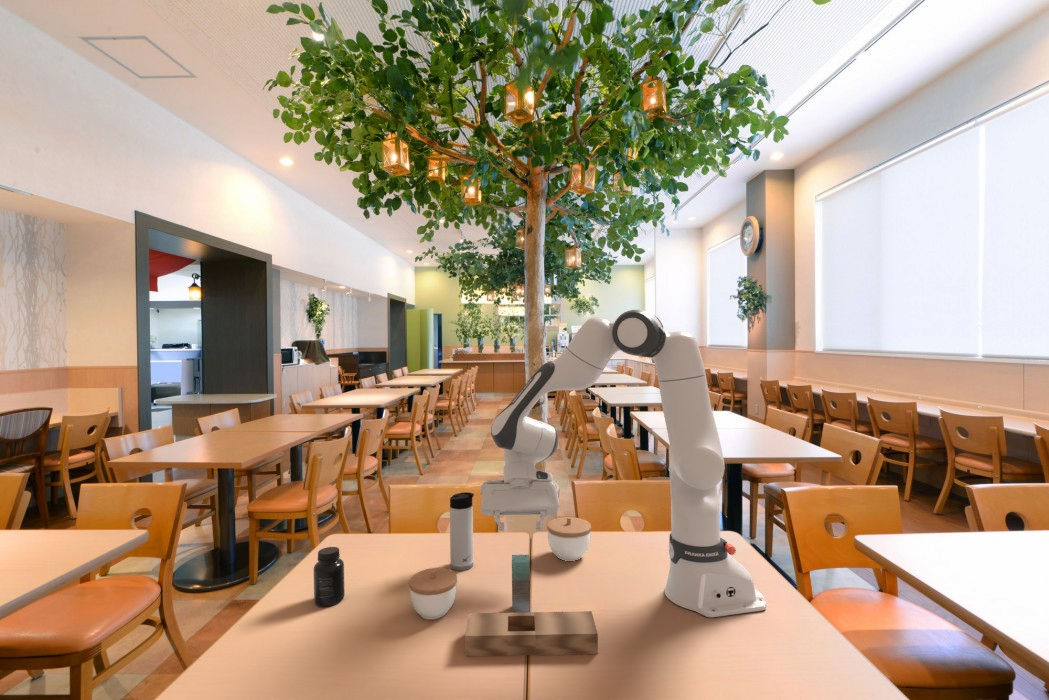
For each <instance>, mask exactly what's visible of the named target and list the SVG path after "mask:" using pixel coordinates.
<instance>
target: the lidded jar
mask: <svg viewBox="0 0 1049 700" xmlns="http://www.w3.org/2000/svg"><path fill="white" fill-rule="evenodd" d="M408 582H409V583H408V584H409V585H408V587H409V596H410V602H411V605H412V607H413V609H414V610H415V611H416V613H417V614H419V615H420V617H421V618H422V619H424V620H430V621H432V620H438V619H441V618H443V617H444V616H445V615H447V613H448V611H449V610H450V609H451V608H452V606H453V604H454V602H455V600H456V596H457V586H458V585H457V583H458V577H457V574H456V572H455V571H453V570H451V569H449V568H443V567H434V568H433V567H431V568H427V569H422V570H420V571H417V572H416V573H415V574H413V575H412V576H411V577H410V578H409V581H408Z"/></svg>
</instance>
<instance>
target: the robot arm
mask: <svg viewBox="0 0 1049 700" xmlns="http://www.w3.org/2000/svg"><path fill="white" fill-rule="evenodd" d="M574 334H575V335H573V337H572V338H571V340H570V342H569V343H568V345H567V346H566V348H565V350H564V351H563V352H562V353H561V354H560V355H559V356H557V358H555V359H554V360H552V361H551V362H545V363H543V364H542V365H541V366H540V367H539V368H538V369H537V370H536V371H535V372H534V373H533V375H532V376H531V377H530V378H529V380H527V382H526V383H525V384H524V386H523V387H522V388H521V389H520V391H519V392H518V393H517V394H516V395H515V397H514V398H513V399H512V400H511V401H510V403H508V405H507V406H506V407H505V408H504V409H503V410H501V412H499V414H497V415H496V417H495V419H494V421H492V424H491V428H490V434H491V437H492V440H493V442H494V444H495V445H496V447H497V448H500V449H503V459H504V462H505V463H504V467H503V479H496V480H492V479H489V480H486V481H485V482H483V483H482V484H481V485H480V495H481V499H480V500H481V501H480V512H481V514H482V515H483V516H493V517H494V521H495V522H496V524H497V525H498V527H497V528H498V532H505V521H501V516H539V517H540V519H539V521H536V522H535V531H536V532H542V531H543V524H544V522H545V520H546V516H547V515H548V516H550V515H551V516H552V515H553V516H554V515H555V516H556V515H557V514H558V513H559V511H560V499H559V495H558V494H559V493H558V489H557V486H556V485H555V483H554V481H553V479H554V477H553V474H552V473H550V472H548V471H543V470H541V469H537V468H536V464H537V463H541V462H544V461H545V460H547V459H549V458H550V457H552V456H553V455H555V453H556V452H557V449H558V443H559V438H558V433H557V430H556V428H555V426H552V425H550V424H549V423H546V422H544V421H540V420H539V419H538V420H537V419H534V418H532V417H530V416H527V415H528V413H529V412H530V411H531V410H532V408H534V406H535V405H536V404H537V402H538V401H539V400H540V399H541V398H542V397H543V396H544V395H546V394H548V393H550V392H557V391H581V390H585V389H588V388H590V387H592V386H593V385H594V384H595V383H596V382H597V380H598V379H599V378H600V376H601V375H602V373H603V371H605V370H604V369H605V368H606V366H607V365H608V363H609V362H610V361H611V358H612V357H613V356H614V355H615V354H616V353H617V352H619V351H621V352H622V353H624V354H627V355H630V356H635V357H636V356H637V357H644V358H649V359H652V360H653V362H654V365H655V368H656V369H655V370H656V374H657V375H656V376H657V380H658V381H657V382H658V388H659V393H660V399H661V400H660V401H661V405H662V407H661V408H662V411H663V412H662V413H663V417H664V421H665V426H666V431H667V435H668V436H667V437H668V441H669V445H668V468H669V470H668V472H669V489H670V490H669V491H670V517H671V518H670V526H671V527H670V529H671V530H670V531H671V532H670V534H669V541H668V554H669V559H670V562H669V569H668V575H667V580H666V584H665V588H664V595H665V596H666V597H667V599H668V600H669V601H670V602H671V603H673V604H675V605H677V606H680V607H681V608H684V609H686V610H687V609H688V610H691V611H694V612H697V613H699V614H700V615H701V616H705V617H707V618H716V617H717V618H718V617H725V616H730V615H731V616H732V615H739V614H745V613H753V612H759V611H765V610H766V609H767V602H766V599H765V597H764V595H763V594H762V593H761V591H759V589H757V587H755V583H754V579H753V578H752V575H751V573H750V572H749V570H747V569H746V568H745V567H744V566H743V565H742V564H741V563H740V562H739V561H738V560H736V559H735V558H733V557H732V556H734V555H735V554H736V553H737V550H736V549H737V548H736V547H735V546H733V544H731V543H728V541H727V540H726V539H724V538H722V537H721V536H720V535H721V533H720V532H721V527H720V526H721V517H720V516H721V514H720V513H721V512H720V511H721V508H720V501H719V494H718V484H719V483H721V481H722V480H723V477H724V475H725V459H724V456H723V455H724V454H723V451H722V445H721V441H720V437H719V433H718V429H717V424H716V420H715V417H714V412H713V409H712V404H711V403H712V402H711V398H710V392H709V385H708V380H707V375H706V374H707V372H706V368H705V364H704V360H703V356H702V353H701V350H700V347H699V345H698V342H697V339H696V338H695V336H693V334H691V333H688V332H684V331H679V330H678V331H677V330H676V331H667V330H665V328H664V326H663V323H662V322H661V320H660V319H659V318H658V317H657V316H656V315H655V314H653V313H651V312H650V311H648V310H643V309H631V310H628V311H625V312H623V313H621V314H620V315H618V316H617V318H616V319H615V321H614V322H613V321H610V320H608V319H606V318H604V317H598V316H593V317H590V318H588V319H587V320H585V322H584V323H583V324H582V326H581V327H579V329H578V330H577V332H576V333H574Z"/></svg>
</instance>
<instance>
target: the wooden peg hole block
mask: <svg viewBox="0 0 1049 700" xmlns="http://www.w3.org/2000/svg"><path fill="white" fill-rule="evenodd" d="M598 635H599V634H598V629H597V626H596V623H595V619H594V614H593V611H591V610H589V611H586V610H585V611H579V610H578V611H539V612H538V611H535V612H534V611H533V612H532V611H530V612H520V613H512V612H474V613H472V612H471V613H468V619H467V624H466V630H465V637H464V641H465V657H488V656H489V657H493V656H494V657H499V656H503V657H504V656H545V655H546V656H547V655H549V656H550V655H551V656H552V655H556V656H557V655H598V654H599V644H598V643H599V642H598V641H599V636H598Z"/></svg>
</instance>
